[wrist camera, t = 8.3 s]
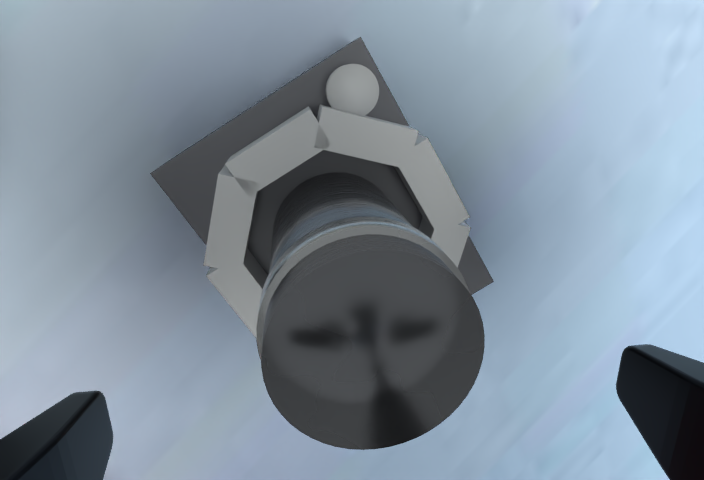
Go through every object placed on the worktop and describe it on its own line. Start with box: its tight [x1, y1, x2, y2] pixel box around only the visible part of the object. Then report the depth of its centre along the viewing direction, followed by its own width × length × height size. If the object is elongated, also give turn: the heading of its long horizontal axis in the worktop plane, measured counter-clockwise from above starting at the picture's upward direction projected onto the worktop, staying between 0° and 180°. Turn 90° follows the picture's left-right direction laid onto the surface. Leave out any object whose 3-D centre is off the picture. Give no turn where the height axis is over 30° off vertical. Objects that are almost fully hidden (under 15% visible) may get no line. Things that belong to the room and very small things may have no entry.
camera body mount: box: [150, 37, 494, 339], centre depth 17 cm, size 10×8×4 cm
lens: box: [256, 172, 484, 450], centre depth 13 cm, size 5×5×8 cm
